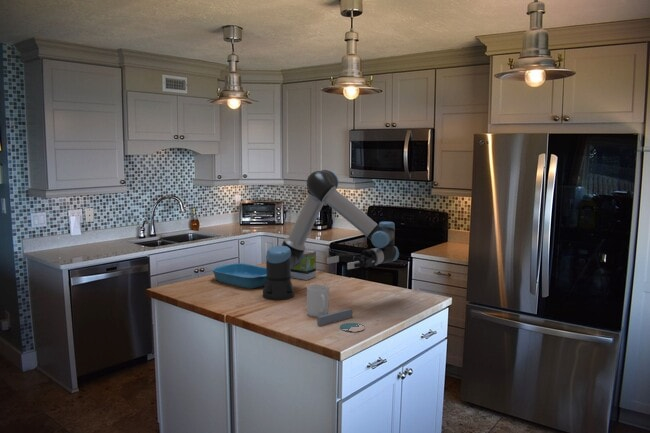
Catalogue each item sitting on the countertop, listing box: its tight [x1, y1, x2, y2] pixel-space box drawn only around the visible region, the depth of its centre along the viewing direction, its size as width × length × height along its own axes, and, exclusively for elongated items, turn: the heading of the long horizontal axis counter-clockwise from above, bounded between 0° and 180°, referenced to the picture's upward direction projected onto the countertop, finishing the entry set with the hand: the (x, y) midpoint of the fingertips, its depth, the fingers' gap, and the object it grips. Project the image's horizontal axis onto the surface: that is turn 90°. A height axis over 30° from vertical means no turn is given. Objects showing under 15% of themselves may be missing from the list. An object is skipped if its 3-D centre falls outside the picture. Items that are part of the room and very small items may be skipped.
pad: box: [339, 322, 366, 332], centre depth 208 cm, size 10×10×1 cm
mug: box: [306, 284, 330, 318], centre depth 223 cm, size 10×12×12 cm
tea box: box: [291, 249, 317, 281], centre depth 287 cm, size 15×10×15 cm, turn 58°
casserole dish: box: [212, 262, 266, 289], centre depth 275 cm, size 37×22×7 cm, turn 53°
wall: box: [316, 308, 354, 327], centre depth 216 cm, size 18×2×4 cm, turn 130°
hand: (337, 263), depth 227 cm, fingers open, 13 cm apart
